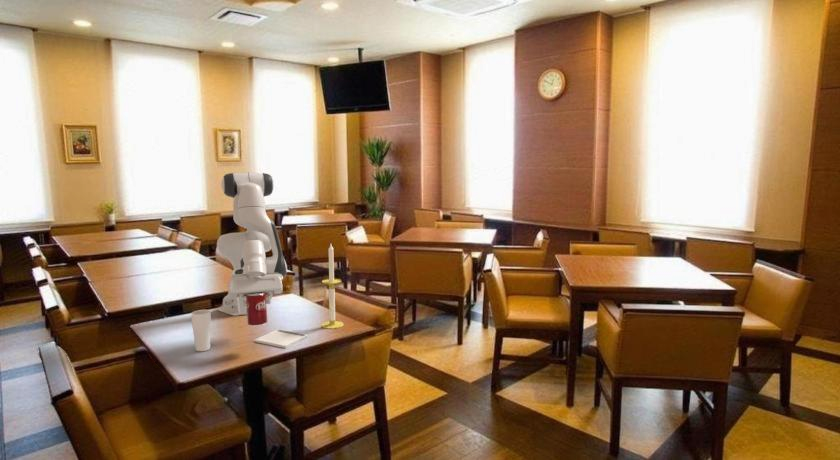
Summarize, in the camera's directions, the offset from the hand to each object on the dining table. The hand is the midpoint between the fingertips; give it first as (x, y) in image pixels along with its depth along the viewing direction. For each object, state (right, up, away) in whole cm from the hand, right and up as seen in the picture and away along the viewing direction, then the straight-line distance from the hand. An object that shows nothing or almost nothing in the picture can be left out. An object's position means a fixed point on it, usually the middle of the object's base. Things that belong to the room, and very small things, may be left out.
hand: (256, 304), depth 186 cm
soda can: (0, -8, +1) cm, 8 cm away
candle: (+23, -14, +32) cm, 42 cm away
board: (+6, -16, +14) cm, 22 cm away
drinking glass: (-22, -18, +2) cm, 28 cm away
